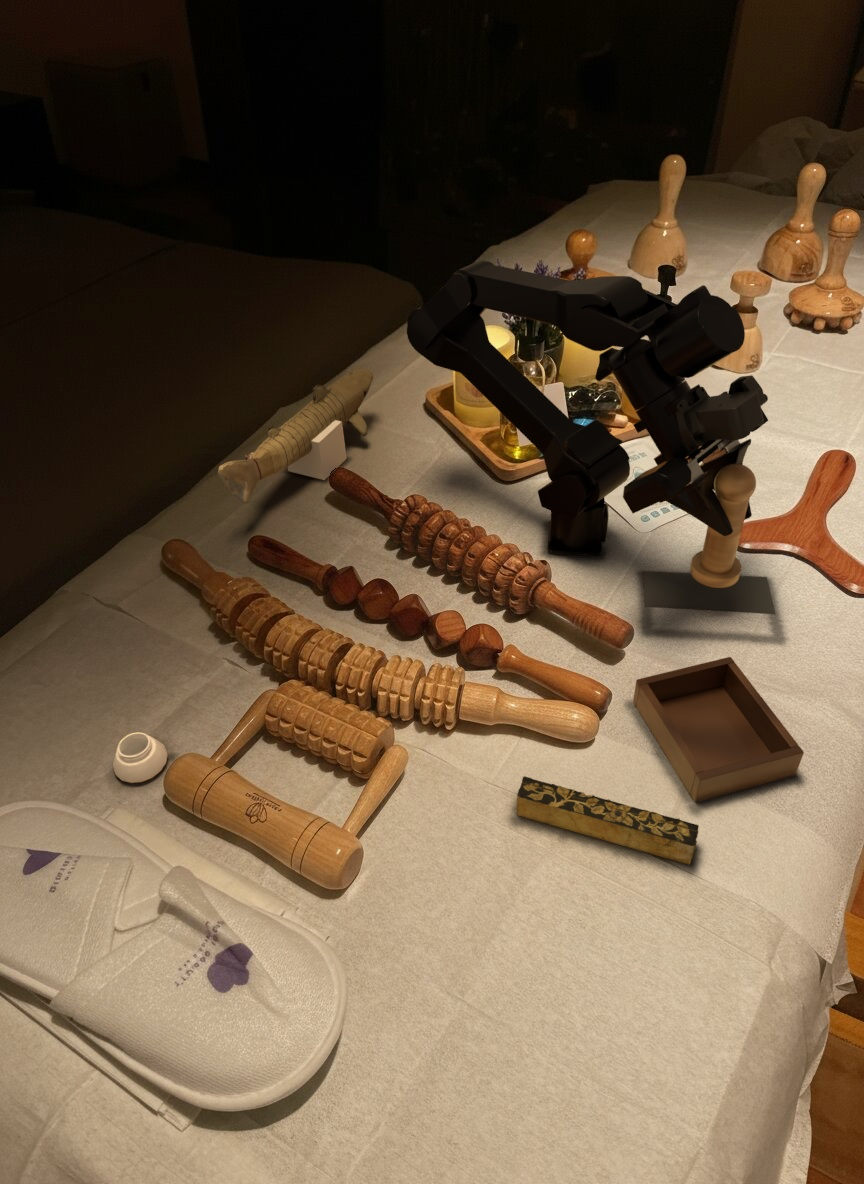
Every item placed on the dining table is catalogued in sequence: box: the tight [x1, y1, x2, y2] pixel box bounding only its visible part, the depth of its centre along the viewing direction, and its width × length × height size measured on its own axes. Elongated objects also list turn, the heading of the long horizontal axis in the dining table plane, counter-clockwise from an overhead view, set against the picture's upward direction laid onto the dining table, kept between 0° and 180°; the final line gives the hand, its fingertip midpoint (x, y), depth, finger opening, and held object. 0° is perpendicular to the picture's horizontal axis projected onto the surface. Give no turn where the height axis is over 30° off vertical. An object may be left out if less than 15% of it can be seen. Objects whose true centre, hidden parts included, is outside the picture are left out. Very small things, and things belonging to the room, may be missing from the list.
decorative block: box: [516, 775, 700, 866], centre depth 75 cm, size 15×2×4 cm, turn 69°
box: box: [632, 656, 805, 803], centre depth 82 cm, size 13×10×4 cm
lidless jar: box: [112, 731, 169, 784], centre depth 83 cm, size 5×3×5 cm
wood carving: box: [217, 367, 374, 504], centre depth 119 cm, size 9×35×11 cm, turn 153°
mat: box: [642, 570, 776, 615], centre depth 98 cm, size 14×10×1 cm
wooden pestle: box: [689, 464, 757, 588], centre depth 90 cm, size 5×5×14 cm
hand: (738, 526), depth 90 cm, fingers closed on wooden pestle, 3 cm apart
